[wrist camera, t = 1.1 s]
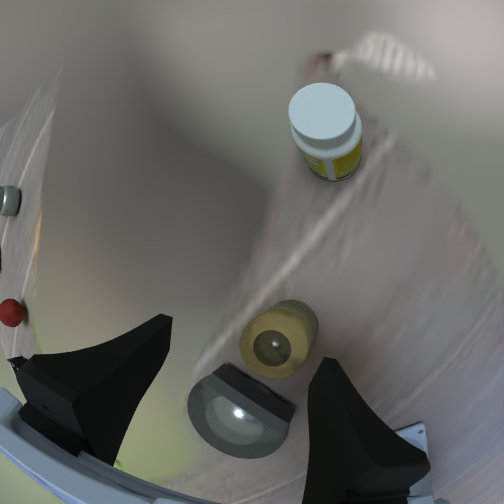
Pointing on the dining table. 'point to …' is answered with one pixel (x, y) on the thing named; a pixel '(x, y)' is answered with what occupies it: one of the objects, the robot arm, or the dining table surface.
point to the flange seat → (238, 414)
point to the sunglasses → (17, 362)
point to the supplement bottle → (326, 130)
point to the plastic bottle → (9, 200)
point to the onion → (11, 312)
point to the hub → (279, 339)
